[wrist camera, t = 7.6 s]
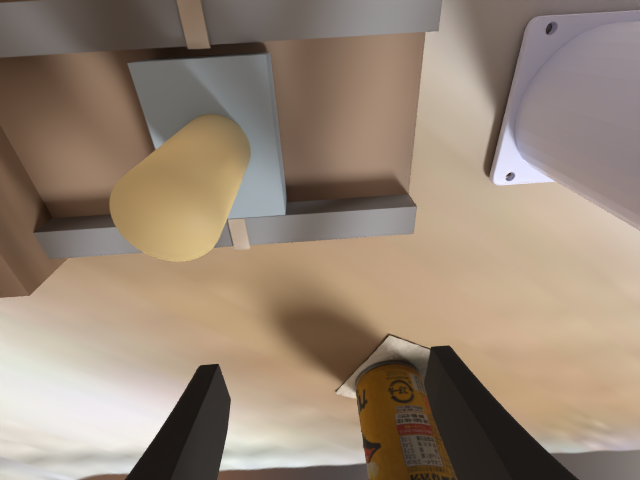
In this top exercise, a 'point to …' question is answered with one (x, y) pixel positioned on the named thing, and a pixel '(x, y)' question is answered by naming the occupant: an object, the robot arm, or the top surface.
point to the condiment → (398, 415)
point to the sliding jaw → (201, 153)
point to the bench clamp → (135, 139)
